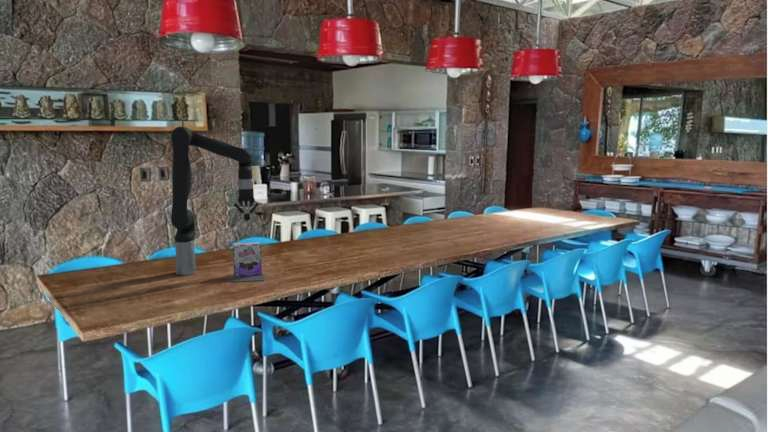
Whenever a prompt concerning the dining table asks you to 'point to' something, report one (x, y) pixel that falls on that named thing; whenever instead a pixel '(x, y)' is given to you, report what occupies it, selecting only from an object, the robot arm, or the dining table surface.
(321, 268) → the dining table surface
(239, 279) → the mat
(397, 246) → the dining table surface
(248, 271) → the candy box
